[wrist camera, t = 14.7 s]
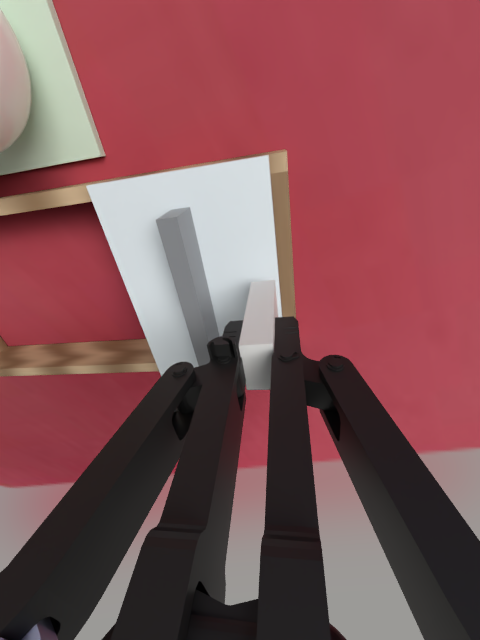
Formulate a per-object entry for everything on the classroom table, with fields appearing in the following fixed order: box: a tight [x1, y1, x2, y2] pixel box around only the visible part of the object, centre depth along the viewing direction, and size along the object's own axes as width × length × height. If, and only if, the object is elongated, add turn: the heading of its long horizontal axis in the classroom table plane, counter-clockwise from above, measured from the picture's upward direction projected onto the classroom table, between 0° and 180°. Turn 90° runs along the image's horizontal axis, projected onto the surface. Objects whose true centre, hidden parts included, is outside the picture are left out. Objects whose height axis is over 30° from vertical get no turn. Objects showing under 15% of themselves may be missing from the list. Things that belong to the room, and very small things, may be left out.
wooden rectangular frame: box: [0, 149, 296, 376], centre depth 25 cm, size 34×16×4 cm, turn 99°
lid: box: [86, 155, 282, 376], centre depth 19 cm, size 11×16×3 cm
